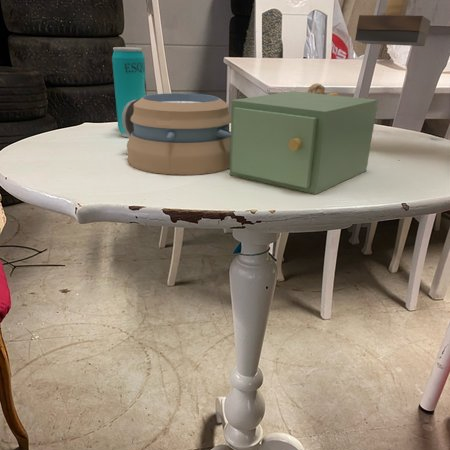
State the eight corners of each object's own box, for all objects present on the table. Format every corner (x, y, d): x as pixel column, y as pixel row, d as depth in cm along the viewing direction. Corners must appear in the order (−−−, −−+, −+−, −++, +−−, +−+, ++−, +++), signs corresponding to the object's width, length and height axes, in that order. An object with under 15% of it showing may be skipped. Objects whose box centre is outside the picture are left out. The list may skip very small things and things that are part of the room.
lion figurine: (319, 132, 98) (324, 85, 93) (296, 129, 100) (300, 83, 96) (347, 123, 108) (353, 80, 104) (325, 120, 111) (331, 79, 106)
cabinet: (366, 170, 71) (378, 99, 66) (309, 197, 59) (319, 113, 54) (287, 156, 78) (292, 91, 73) (222, 177, 66) (223, 101, 61)
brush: (424, 46, 74) (444, -34, 69) (416, 42, 70) (436, -42, 66) (364, 43, 79) (379, -31, 74) (354, 40, 76) (369, -38, 71)
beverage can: (153, 137, 90) (149, 48, 82) (125, 139, 87) (118, 48, 80) (141, 131, 94) (136, 47, 86) (114, 134, 91) (106, 47, 84)
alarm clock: (137, 107, 60) (106, 88, 78) (142, 179, 64) (112, 145, 83) (258, 103, 65) (202, 86, 84) (254, 170, 70) (202, 140, 88)
